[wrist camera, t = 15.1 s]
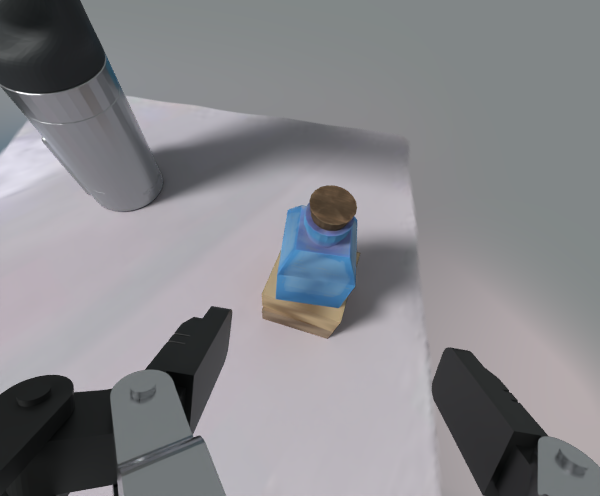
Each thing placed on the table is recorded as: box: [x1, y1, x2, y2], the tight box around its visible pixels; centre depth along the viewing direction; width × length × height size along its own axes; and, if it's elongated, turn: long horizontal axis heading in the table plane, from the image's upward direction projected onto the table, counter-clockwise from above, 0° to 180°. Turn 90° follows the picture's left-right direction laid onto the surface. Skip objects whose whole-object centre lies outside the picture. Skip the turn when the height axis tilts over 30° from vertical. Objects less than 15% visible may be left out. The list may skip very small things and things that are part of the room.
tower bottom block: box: [262, 306, 334, 339], centre depth 35 cm, size 8×8×4 cm
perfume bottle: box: [276, 186, 357, 308], centre depth 25 cm, size 6×6×12 cm
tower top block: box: [262, 251, 360, 332], centre depth 32 cm, size 8×8×4 cm
